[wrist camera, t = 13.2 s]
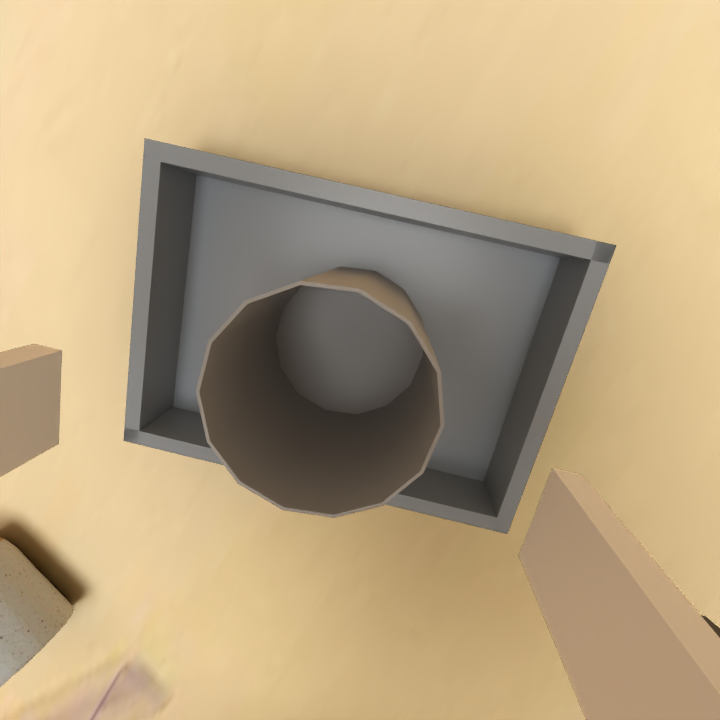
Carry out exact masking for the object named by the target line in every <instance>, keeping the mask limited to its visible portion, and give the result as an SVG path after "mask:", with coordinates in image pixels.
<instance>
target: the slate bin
mask: <svg viewBox="0 0 720 720" xmlns="http://www.w3.org/2000/svg"><path fill="white" fill-rule="evenodd" d="M615 248H616V245H612V244H608V243H604V242H599V241H595V240H590V239H586V238H582V237H577V236H573V235H568V234H564V233H560V232H555V231H551V230H546V229H542V228H538V227H533V226H529V225H524V224H520V223H516V222H511V221H507V220H502V219H498V218H494V217H489V216H485V215H480V214H476V213H472V212H467V211H463V210H458V209H454V208H449V207H445V206H441V205H436V204H432V203H427V202H423V201H419V200H414V199H410V198H405V197H401V196H397V195H392V194H388V193H383V192H379V191H375V190H370V189H366V188H361V187H357V186H353V185H348V184H344V183H339V182H335V181H331V180H326V179H322V178H317V177H313V176H309V175H304V174H300V173H295V172H291V171H286V170H282V169H278V168H273V167H269V166H264V165H260V164H256V163H251V162H247V161H242V160H238V159H234V158H229V157H225V156H220V155H216V154H212V153H207V152H203V151H198V150H194V149H190V148H185V147H181V146H176V145H172V144H168V143H163V142H159V141H154V140H150V139H146V138H145V141H144V155H143V169H142V184H141V198H140V213H139V227H138V242H137V256H136V270H135V285H134V299H133V314H132V328H131V343H130V357H129V371H128V386H127V400H126V415H125V429H124V441H127V442H131V443H135V444H139V445H143V446H147V447H151V448H155V449H160V450H164V451H168V452H172V453H176V454H180V455H184V456H188V457H193V458H197V459H201V460H205V461H209V462H213V463H217V464H221V465H224V464H223V463H222V461H221V460H220V459H219V457H218V456H217V455H216V453H215V452H214V451H213V449H212V448H211V447H210V445H209V444H208V443H207V440H206V436H205V431H204V427H203V422H202V418H201V413H200V409H199V404H198V400H197V395H196V388H197V384H198V380H199V376H200V372H201V368H202V364H203V360H204V356H205V352H206V348H207V344H208V341H209V340H210V338H211V337H212V336H213V335H214V334H215V333H216V332H217V331H218V330H219V329H220V328H221V326H222V325H223V324H224V323H225V322H226V321H227V320H228V319H229V318H230V317H231V315H232V314H233V313H234V312H235V311H236V310H237V309H238V308H239V307H240V306H241V304H242V303H243V302H244V301H245V300H248V299H251V298H253V297H256V296H259V295H262V294H265V293H267V292H270V291H273V290H276V289H279V288H281V287H284V286H287V285H290V284H292V283H295V282H298V281H301V280H304V279H306V278H309V277H312V276H315V275H318V274H320V273H323V272H326V271H329V270H332V269H334V268H337V267H340V266H342V267H351V268H359V269H367V270H375V271H377V272H378V273H380V274H381V275H383V276H384V277H386V278H388V279H389V280H391V281H392V282H394V283H395V284H397V285H398V286H400V287H401V288H403V289H404V290H405V291H406V293H407V295H408V296H409V298H410V300H411V301H412V303H413V305H414V306H415V308H416V310H417V311H418V313H419V315H420V317H421V318H422V320H423V323H424V326H425V329H426V332H427V334H428V337H429V340H430V343H431V345H432V348H433V351H434V354H435V356H436V359H437V362H438V365H439V367H440V370H441V380H442V395H443V411H444V428H443V430H442V432H441V435H440V437H439V439H438V441H437V444H436V446H435V448H434V450H433V453H432V455H431V457H430V459H429V461H428V464H427V466H426V468H425V470H424V473H423V474H422V475H420V476H419V477H418V478H417V479H415V480H414V481H413V482H412V483H410V484H409V485H408V486H407V487H406V488H404V489H403V490H402V491H401V492H399V493H398V494H397V495H396V496H394V497H393V498H392V499H391V500H390V501H388V502H387V503H386V505H390V506H394V507H398V508H402V509H407V510H411V511H415V512H419V513H423V514H427V515H431V516H435V517H439V518H444V519H448V520H452V521H456V522H460V523H464V524H468V525H472V526H476V527H481V528H485V529H489V530H493V531H497V532H501V533H505V534H508V531H509V528H510V526H511V523H512V520H513V518H514V515H515V512H516V510H517V507H518V505H519V502H520V499H521V497H522V494H523V491H524V489H525V486H526V483H527V481H528V478H529V475H530V473H531V470H532V467H533V465H534V462H535V460H536V457H537V454H538V452H539V449H540V446H541V444H542V441H543V438H544V436H545V433H546V430H547V428H548V425H549V422H550V420H551V417H552V415H553V412H554V409H555V407H556V404H557V401H558V399H559V396H560V393H561V391H562V388H563V385H564V383H565V380H566V377H567V375H568V372H569V369H570V367H571V364H572V362H573V359H574V356H575V354H576V351H577V348H578V346H579V343H580V340H581V338H582V335H583V332H584V330H585V327H586V324H587V322H588V319H589V317H590V314H591V311H592V309H593V306H594V303H595V301H596V298H597V295H598V293H599V290H600V287H601V285H602V282H603V279H604V277H605V274H606V272H607V269H608V266H609V264H610V261H611V258H612V256H613V253H614V250H615Z"/></svg>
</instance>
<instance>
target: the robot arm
mask: <svg viewBox="0 0 720 720" xmlns="http://www.w3.org/2000/svg"><path fill="white" fill-rule="evenodd" d="M61 363H62V350H58V349H54V348H50V347H45V346H41V345H37V344H31V345H27V346H23V347H19V348H15V349H11V350H8V351H4V352H0V477H1V476H3V475H5V474H6V473H8V472H10V471H12V470H13V469H15V468H17V467H19V466H21V465H22V464H24V463H26V462H28V461H29V460H31V459H33V458H35V457H36V456H38V455H40V454H42V453H43V452H45V451H47V450H49V449H50V448H52V447H54V446H56V445H57V444H59V422H60V393H61ZM519 558H520V561H521V563H522V565H523V568H524V570H525V573H526V575H527V578H528V580H529V582H530V585H531V587H532V590H533V592H534V595H535V597H536V600H537V602H538V604H539V607H540V609H541V612H542V614H543V617H544V619H545V621H546V624H547V626H548V629H549V631H550V634H551V636H552V638H553V641H554V643H555V646H556V648H557V651H558V653H559V656H560V658H561V660H562V663H563V665H564V668H565V670H566V673H567V675H568V677H569V680H570V682H571V685H572V687H573V690H574V692H575V694H576V697H577V699H578V702H579V704H580V707H581V709H582V712H583V714H584V716H585V719H586V720H720V628H719V627H717V626H716V625H715V624H714V623H713V622H711V621H710V620H709V619H708V618H707V617H705V616H702V615H700V614H699V613H698V612H697V610H696V609H695V608H694V607H693V606H692V604H691V603H690V602H689V601H688V600H687V599H686V597H685V596H684V595H683V594H682V593H681V591H680V590H679V589H678V588H677V587H676V586H675V584H674V583H673V582H672V581H671V580H670V578H669V577H668V576H667V575H666V574H665V572H664V571H663V570H662V569H661V568H660V567H659V565H658V564H657V563H656V562H655V561H654V559H653V558H652V557H651V556H650V555H649V554H648V552H647V551H646V550H645V549H644V548H643V546H642V545H641V544H640V543H639V542H638V541H637V539H636V538H635V537H634V536H633V535H632V533H631V532H630V531H629V530H628V529H627V528H626V526H625V525H624V524H623V523H622V522H621V520H620V519H619V518H618V517H617V516H616V515H615V513H614V512H613V511H612V510H611V509H610V507H609V506H608V505H607V504H606V503H605V502H604V500H603V499H602V498H601V497H600V496H599V494H598V493H597V492H596V491H595V490H594V489H593V487H592V486H591V485H590V484H589V483H588V481H587V480H586V479H585V478H584V477H583V476H582V475H581V474H577V473H573V472H569V471H565V470H560V469H556V468H552V470H551V472H550V475H549V477H548V480H547V483H546V485H545V488H544V491H543V493H542V496H541V498H540V501H539V504H538V506H537V509H536V511H535V514H534V517H533V519H532V522H531V524H530V527H529V530H528V532H527V535H526V537H525V540H524V543H523V545H522V548H521V551H520V553H519Z"/></svg>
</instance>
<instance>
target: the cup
mask: <svg viewBox="0 0 720 720" xmlns="http://www.w3.org/2000/svg"><path fill="white" fill-rule="evenodd" d="M196 395H197V400H198V404H199V409H200V413H201V418H202V422H203V427H204V431H205V436H206V440H207V443H208V444H209V445H210V447H211V448H212V449H213V451H214V452H215V453H216V455H217V456H218V457H219V459H220V460H221V461H222V463H223V464H224V465H225V467H226V468H227V469H228V471H229V472H230V473H231V475H232V476H233V477H234V479H235V480H236V481H237V483H238V484H240V485H241V486H243V487H245V488H246V489H248V490H250V491H252V492H253V493H255V494H257V495H258V496H260V497H262V498H263V499H265V500H267V501H268V502H270V503H272V504H273V505H275V506H277V507H279V508H280V509H282V510H286V511H292V512H299V513H306V514H312V515H319V516H326V517H332V518H335V517H339V516H343V515H347V514H351V513H355V512H359V511H363V510H367V509H371V508H375V507H378V506H382V505H385V504H386V503H387V502H388V501H390V500H391V499H392V498H393V497H394V496H396V495H397V494H398V493H399V492H401V491H402V490H403V489H404V488H406V487H407V486H408V485H409V484H410V483H412V482H413V481H414V480H415V479H417V478H418V477H419V476H420V475H422V474H423V473H424V470H425V468H426V466H427V464H428V461H429V459H430V457H431V455H432V453H433V450H434V448H435V446H436V444H437V441H438V439H439V437H440V435H441V432H442V430H443V428H444V411H443V395H442V380H441V370H440V367H439V365H438V362H437V359H436V356H435V354H434V351H433V348H432V345H431V343H430V340H429V337H428V334H427V332H426V329H425V326H424V323H423V320H422V318H421V317H420V315H419V313H418V311H417V310H416V308H415V306H414V305H413V303H412V301H411V300H410V298H409V296H408V295H407V293H406V291H405V290H404V289H403V288H401V287H400V286H398V285H397V284H395V283H394V282H392V281H391V280H389V279H388V278H386V277H384V276H383V275H381V274H380V273H378V272H377V271H375V270H367V269H359V268H351V267H342V266H340V267H337V268H334V269H332V270H329V271H326V272H323V273H320V274H318V275H315V276H312V277H309V278H306V279H304V280H301V281H298V282H295V283H292V284H290V285H287V286H284V287H281V288H279V289H276V290H273V291H270V292H267V293H265V294H262V295H259V296H256V297H253V298H251V299H248V300H245V301H244V302H243V303H242V304H241V306H240V307H239V308H238V309H237V310H236V311H235V312H234V313H233V314H232V315H231V317H230V318H229V319H228V320H227V321H226V322H225V323H224V324H223V325H222V326H221V328H220V329H219V330H218V331H217V332H216V333H215V334H214V335H213V336H212V337H211V338H210V340H209V341H208V344H207V348H206V352H205V356H204V360H203V364H202V368H201V372H200V376H199V380H198V384H197V388H196Z"/></svg>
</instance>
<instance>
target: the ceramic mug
mask: <svg viewBox="0 0 720 720" xmlns="http://www.w3.org/2000/svg"><path fill="white" fill-rule="evenodd" d="M73 610H74V609H73V606H72V605H71V603H70V602H69V601H68V600H67V599H66V598H65V597H64V596H63V595H62V594H61V593H60V592H59V591H58V590H57V589H56V588H55V587H54V586H53V585H52V584H51V583H50V582H49V580H48V579H47V578H46V577H45V576H44V575H42V574H41V573H40V572H39V571H38V570H37V569H36V568H35V567H34V565H33V564H32V563H31V562H30V561H29V560H28V559H27V558H26V557H25V556H24V555H23V553H22V552H21V551H20V550H19V549H18V548H17V547H16V546H14V545H13V544H12V543H10V542H9V541H7V540H6V539H4V538H2V537H0V687H1V686H2V685H4V684H5V683H6V682H7V681H8V680H9V679H10V678H11V677H12V676H13V675H14V674H16V673H17V672H18V671H19V670H20V669H22V668H23V667H24V666H25V665H26V664H27V663H28V662H29V661H30V660H31V659H32V658H33V657H34V656H35V655H36V654H37V653H38V652H39V651H40V650H41V649H42V648H43V647H44V646H45V645H46V644H47V643H48V642H49V641H50V640H51V639H52V638H53V637H54V636H55V635H56V633H57V632H58V631H60V629H61V628H62V627H63V626H64V625H65V624H66V622H67V620H68V619H69V618H70V617H71V615H72V613H73Z"/></svg>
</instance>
